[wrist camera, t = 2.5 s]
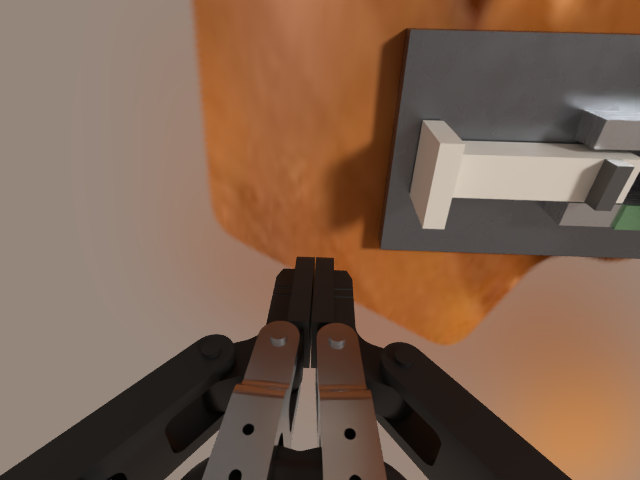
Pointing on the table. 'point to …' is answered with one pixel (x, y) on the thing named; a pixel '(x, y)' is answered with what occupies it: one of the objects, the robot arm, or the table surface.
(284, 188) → the table surface
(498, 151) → the plunger
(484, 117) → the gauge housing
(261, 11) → the table surface
